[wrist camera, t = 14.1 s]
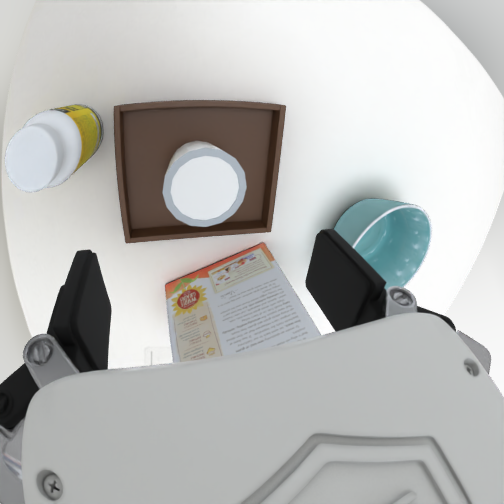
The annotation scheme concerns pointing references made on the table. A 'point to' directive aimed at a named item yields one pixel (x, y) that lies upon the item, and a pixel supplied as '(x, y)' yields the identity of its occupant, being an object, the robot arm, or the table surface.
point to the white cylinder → (203, 184)
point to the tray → (184, 131)
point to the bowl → (388, 237)
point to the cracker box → (235, 308)
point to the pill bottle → (52, 147)
